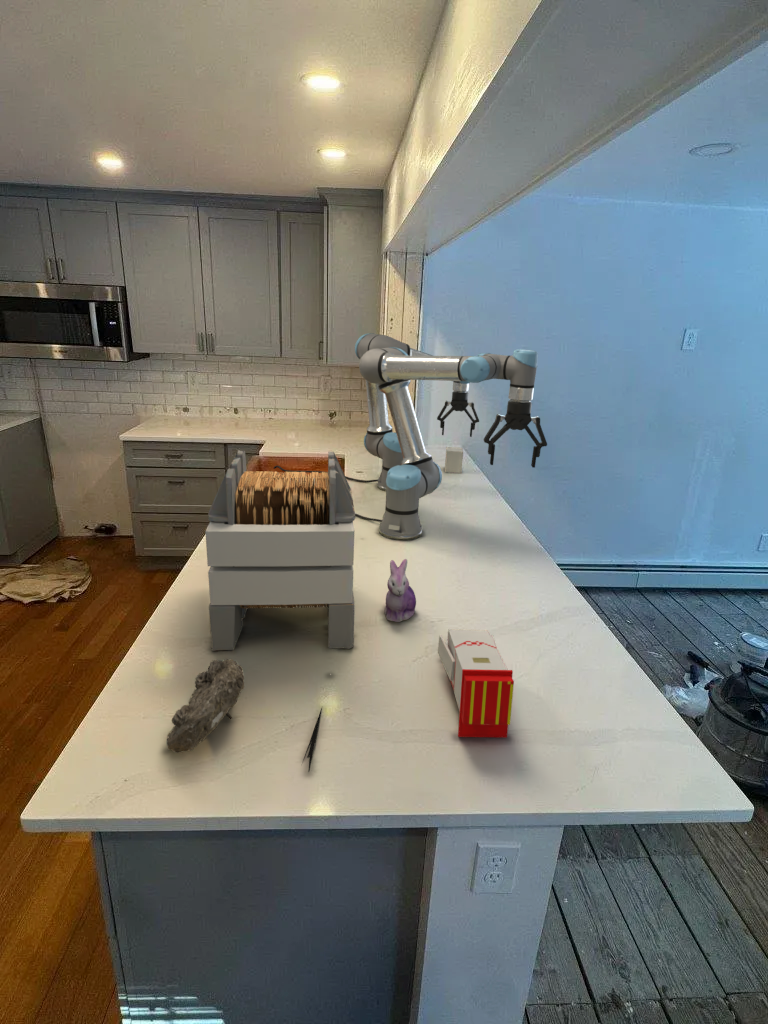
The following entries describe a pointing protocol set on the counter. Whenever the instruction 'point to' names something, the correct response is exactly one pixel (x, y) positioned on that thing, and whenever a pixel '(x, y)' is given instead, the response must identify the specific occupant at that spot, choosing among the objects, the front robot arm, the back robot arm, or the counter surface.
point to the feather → (313, 740)
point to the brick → (453, 459)
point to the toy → (478, 682)
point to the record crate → (281, 548)
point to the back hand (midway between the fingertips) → (456, 435)
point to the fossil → (206, 705)
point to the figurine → (399, 594)
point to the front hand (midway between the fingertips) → (512, 465)
